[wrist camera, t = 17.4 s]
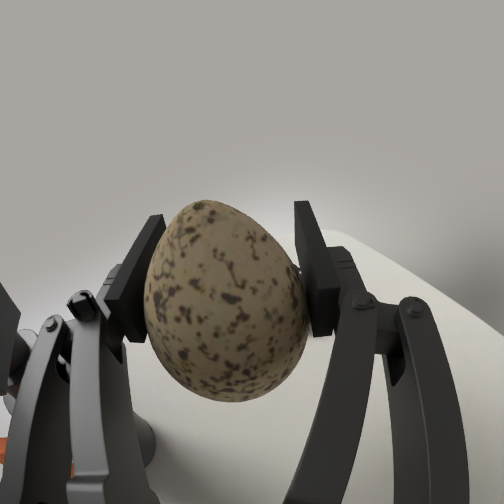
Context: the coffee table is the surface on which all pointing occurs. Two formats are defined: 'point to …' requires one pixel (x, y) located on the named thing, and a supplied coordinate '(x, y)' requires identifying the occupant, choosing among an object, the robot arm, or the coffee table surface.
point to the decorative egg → (224, 304)
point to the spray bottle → (16, 358)
